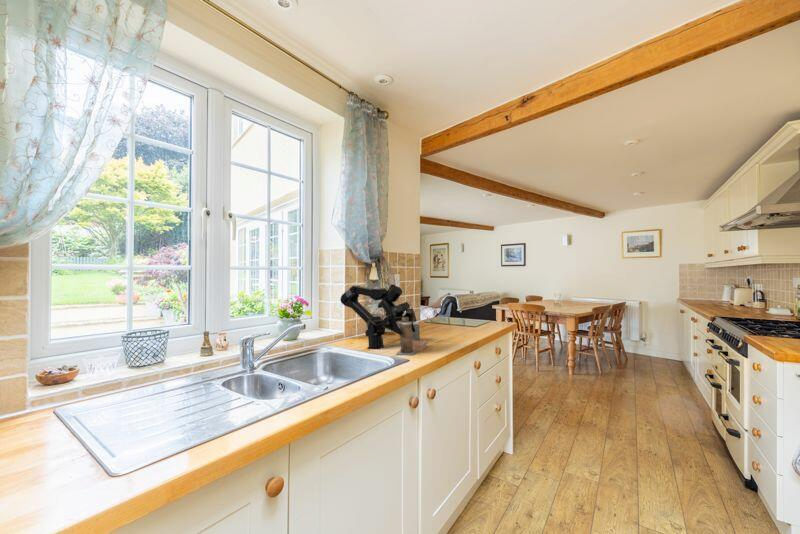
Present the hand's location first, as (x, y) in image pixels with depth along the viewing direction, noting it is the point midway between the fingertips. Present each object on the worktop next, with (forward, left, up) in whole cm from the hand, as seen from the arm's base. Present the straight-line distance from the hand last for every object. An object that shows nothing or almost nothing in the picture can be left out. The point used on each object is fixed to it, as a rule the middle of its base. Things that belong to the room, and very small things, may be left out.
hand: (408, 333), depth 157 cm
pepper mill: (-1, +1, -9) cm, 9 cm away
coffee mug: (-7, +27, -10) cm, 29 cm away
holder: (0, +10, -9) cm, 14 cm away
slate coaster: (-1, +1, -9) cm, 9 cm away
